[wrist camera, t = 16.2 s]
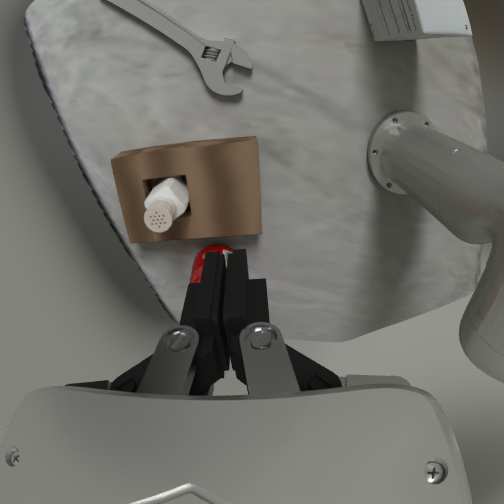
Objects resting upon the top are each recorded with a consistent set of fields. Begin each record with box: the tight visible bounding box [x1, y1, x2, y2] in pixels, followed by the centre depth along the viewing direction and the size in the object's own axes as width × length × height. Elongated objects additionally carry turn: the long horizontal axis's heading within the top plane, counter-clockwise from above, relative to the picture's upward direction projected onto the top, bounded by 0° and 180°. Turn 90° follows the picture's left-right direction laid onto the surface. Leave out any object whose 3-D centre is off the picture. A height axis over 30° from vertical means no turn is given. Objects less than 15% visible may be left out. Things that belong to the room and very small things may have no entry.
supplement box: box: [361, 0, 472, 41], centre depth 22 cm, size 7×7×13 cm
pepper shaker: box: [144, 175, 189, 233], centre depth 35 cm, size 4×4×10 cm
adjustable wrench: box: [108, 0, 253, 95], centre depth 27 cm, size 25×6×2 cm, turn 43°
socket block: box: [111, 136, 262, 243], centre depth 38 cm, size 18×12×4 cm, turn 93°
